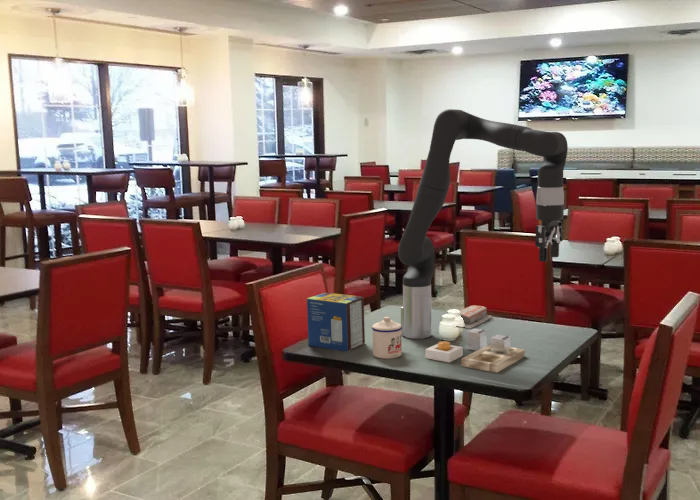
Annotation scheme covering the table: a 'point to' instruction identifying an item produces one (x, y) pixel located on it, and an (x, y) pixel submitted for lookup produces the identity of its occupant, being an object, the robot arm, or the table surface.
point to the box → (444, 353)
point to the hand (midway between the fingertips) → (549, 259)
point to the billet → (500, 344)
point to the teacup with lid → (387, 339)
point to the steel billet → (476, 339)
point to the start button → (444, 345)
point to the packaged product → (474, 315)
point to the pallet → (492, 359)
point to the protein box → (336, 321)
